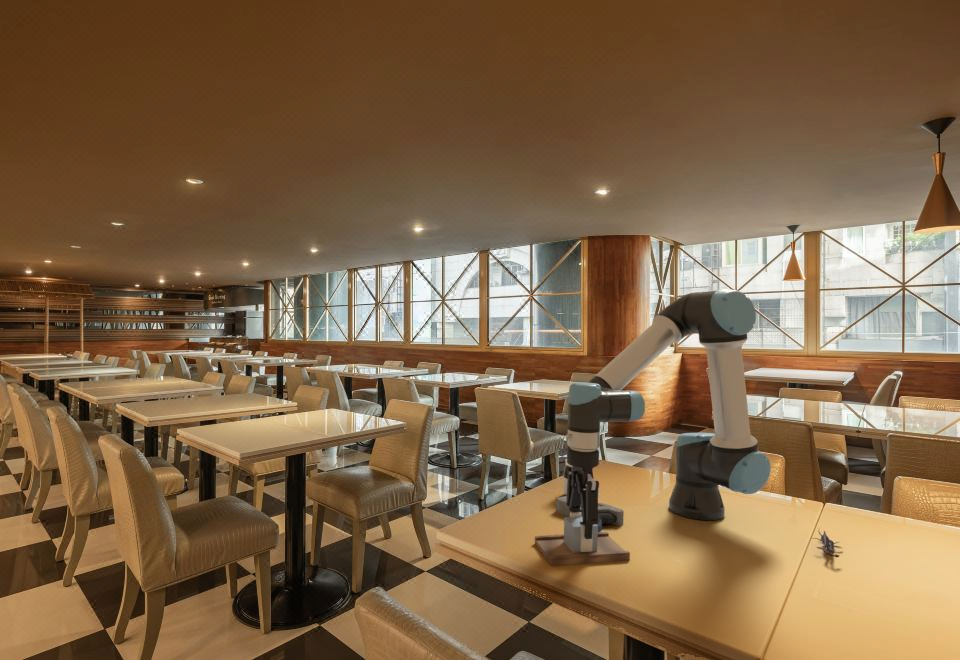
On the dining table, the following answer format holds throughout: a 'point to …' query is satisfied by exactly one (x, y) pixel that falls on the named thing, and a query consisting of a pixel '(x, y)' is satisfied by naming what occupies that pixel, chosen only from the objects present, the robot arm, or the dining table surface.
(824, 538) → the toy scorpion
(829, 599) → the dining table surface
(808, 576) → the dining table surface
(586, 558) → the board
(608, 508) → the ray gun
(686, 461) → the robot arm
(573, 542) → the cube
